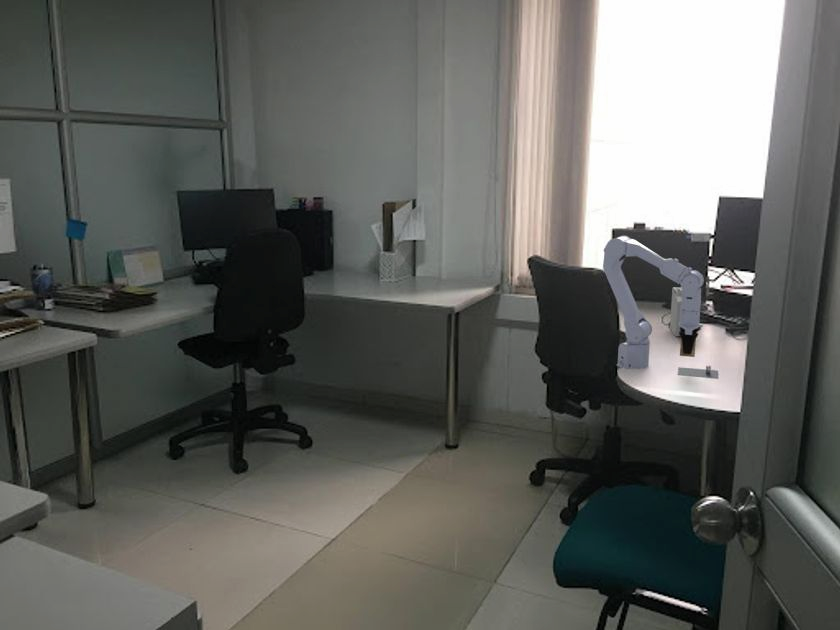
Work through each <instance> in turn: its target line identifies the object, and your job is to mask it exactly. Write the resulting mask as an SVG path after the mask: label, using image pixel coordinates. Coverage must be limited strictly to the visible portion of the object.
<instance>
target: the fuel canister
mask: <svg viewBox="0 0 840 630" xmlns="http://www.w3.org/2000/svg"><path fill="white" fill-rule="evenodd" d="M682 290H683V289H682V287H676V286H675V287H674V286H673V287H672V290H671V304H670V305H671V306H670V307H671V308H670V322H669V323H670V324H669V330H670V331H671V332H672V334H673V336H674V337H676V336H678V337H677V338H680V337H679V336H680V335H679V331H681V330H680V326H679V323H680V313H681V299H682Z"/></svg>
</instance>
